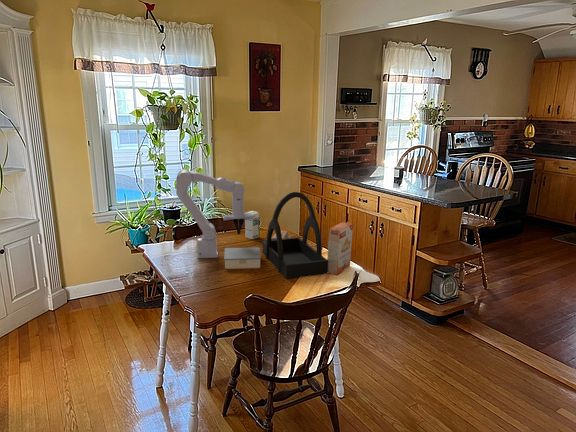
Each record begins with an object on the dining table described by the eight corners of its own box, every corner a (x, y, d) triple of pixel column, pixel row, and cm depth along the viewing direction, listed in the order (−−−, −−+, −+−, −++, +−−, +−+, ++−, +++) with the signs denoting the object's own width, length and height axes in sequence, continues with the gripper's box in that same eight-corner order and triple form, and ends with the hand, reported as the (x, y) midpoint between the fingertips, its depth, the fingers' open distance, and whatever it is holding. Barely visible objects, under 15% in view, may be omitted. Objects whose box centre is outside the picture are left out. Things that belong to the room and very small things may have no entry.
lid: (224, 260, 195) (224, 258, 195) (224, 249, 209) (224, 248, 209) (261, 259, 197) (261, 258, 197) (259, 248, 211) (259, 247, 211)
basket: (261, 253, 219) (261, 185, 210) (299, 249, 226) (301, 183, 217) (284, 279, 187) (286, 201, 178) (328, 273, 194) (332, 198, 185)
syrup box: (252, 239, 239) (252, 214, 235) (244, 237, 242) (244, 212, 239) (259, 237, 243) (259, 212, 240) (251, 235, 247) (251, 210, 243)
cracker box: (338, 275, 192) (340, 230, 187) (326, 272, 195) (328, 228, 190) (351, 266, 204) (353, 223, 198) (339, 263, 207) (341, 221, 201)
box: (225, 269, 197) (224, 259, 196) (225, 257, 211) (225, 249, 209) (260, 268, 199) (260, 259, 197) (258, 257, 212) (258, 248, 211)
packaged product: (273, 228, 245) (290, 230, 243) (273, 236, 246) (290, 238, 244) (266, 238, 228) (284, 239, 226) (265, 247, 229) (284, 248, 227)
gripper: (252, 204, 215) (253, 230, 219) (223, 205, 214) (224, 231, 217) (253, 208, 209) (253, 234, 212) (222, 208, 207) (224, 235, 211)
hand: (238, 233), depth 214 cm, fingers closed
